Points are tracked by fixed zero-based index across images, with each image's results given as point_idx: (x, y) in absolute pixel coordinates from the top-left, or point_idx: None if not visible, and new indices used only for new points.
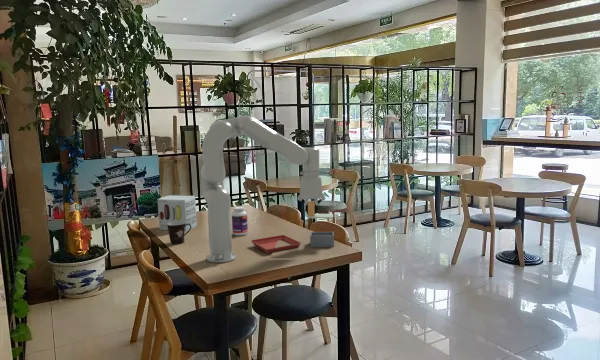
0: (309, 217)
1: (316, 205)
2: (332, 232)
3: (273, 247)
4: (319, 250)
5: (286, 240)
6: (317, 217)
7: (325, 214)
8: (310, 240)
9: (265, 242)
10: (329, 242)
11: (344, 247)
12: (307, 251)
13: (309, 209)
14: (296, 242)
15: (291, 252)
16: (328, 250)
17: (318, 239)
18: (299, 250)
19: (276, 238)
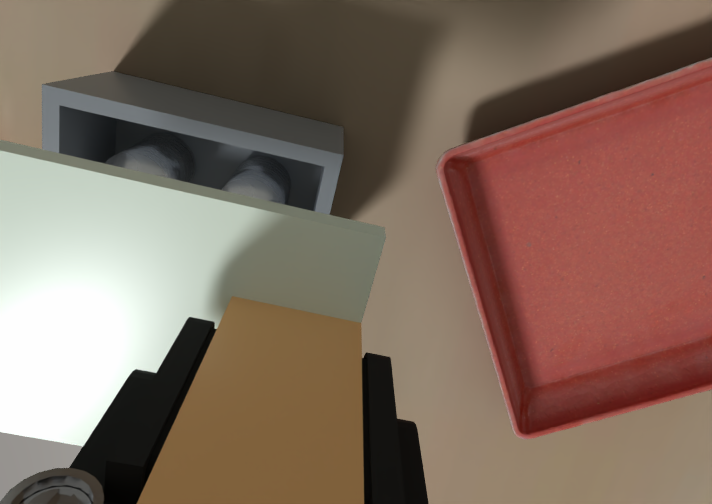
0: (351, 226)
1: (82, 472)
2: None
3: (662, 217)
4: (269, 31)
5: (507, 356)
6: (181, 184)
7: (5, 380)
8: (341, 142)
9: (680, 353)
10: (137, 89)
11: (5, 69)
12: (392, 29)
13: (324, 410)
14: (462, 226)
15: (549, 39)
16: (178, 3)
17: (251, 123)
18: (458, 88)
19: (581, 401)
